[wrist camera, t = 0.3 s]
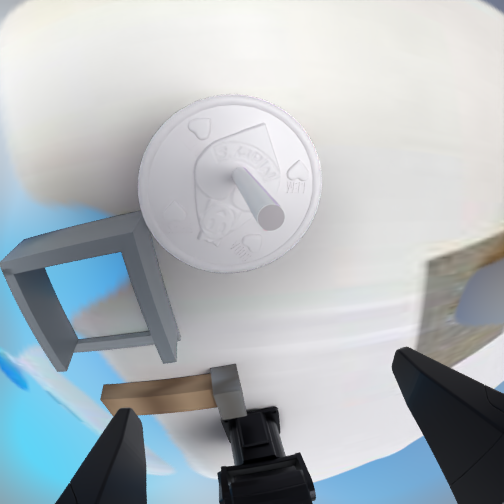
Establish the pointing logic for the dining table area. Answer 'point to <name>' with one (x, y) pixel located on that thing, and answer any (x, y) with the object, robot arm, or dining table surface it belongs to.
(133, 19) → the dining table surface
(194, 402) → the capped slat
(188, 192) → the smoothie
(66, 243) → the endcap cradle
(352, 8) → the dining table surface
